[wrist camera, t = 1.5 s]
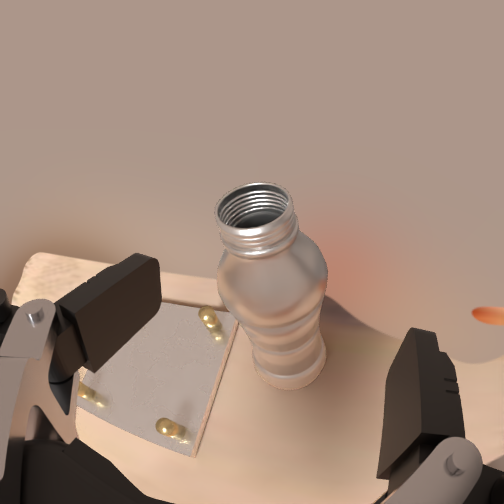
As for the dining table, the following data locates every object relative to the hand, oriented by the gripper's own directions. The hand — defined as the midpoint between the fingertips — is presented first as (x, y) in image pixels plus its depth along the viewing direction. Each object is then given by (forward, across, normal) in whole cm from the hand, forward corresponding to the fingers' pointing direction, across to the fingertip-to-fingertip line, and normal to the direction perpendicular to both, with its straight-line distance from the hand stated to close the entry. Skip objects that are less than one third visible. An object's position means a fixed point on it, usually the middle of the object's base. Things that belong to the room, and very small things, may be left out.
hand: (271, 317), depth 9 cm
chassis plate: (+11, +14, +21) cm, 27 cm away
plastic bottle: (+14, 0, +17) cm, 22 cm away
